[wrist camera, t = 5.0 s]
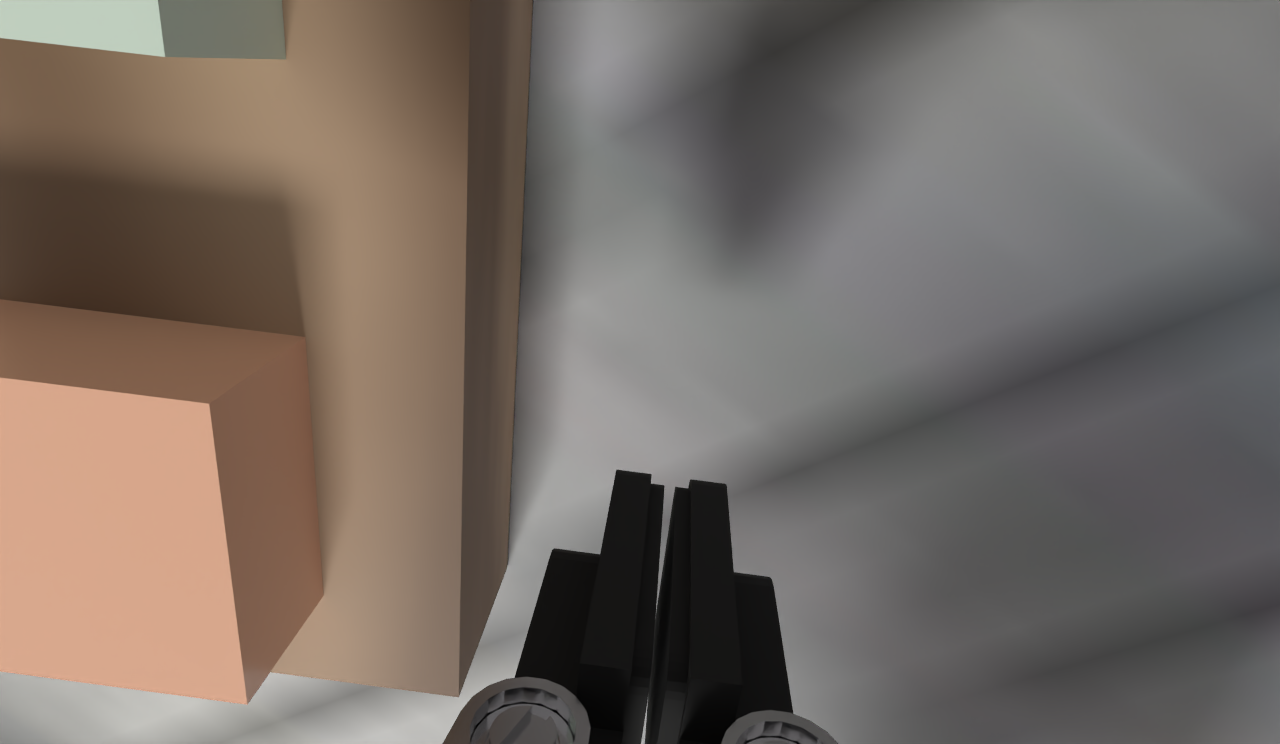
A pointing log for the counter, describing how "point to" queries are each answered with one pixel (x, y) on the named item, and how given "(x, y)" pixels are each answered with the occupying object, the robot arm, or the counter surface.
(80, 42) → the sage tile
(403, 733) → the counter surface
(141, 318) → the terracotta block
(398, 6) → the tan wooden board
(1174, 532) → the counter surface
